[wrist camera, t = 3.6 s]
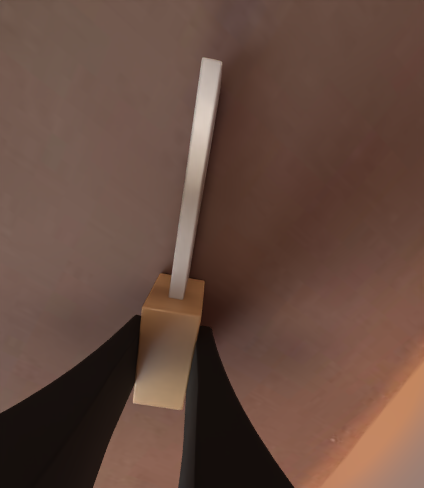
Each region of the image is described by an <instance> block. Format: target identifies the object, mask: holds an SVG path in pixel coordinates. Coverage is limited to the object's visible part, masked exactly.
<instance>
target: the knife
mask: <svg viewBox="0 0 424 488" xmlns="http://www.w3.org/2000/svg"><path fill="white" fill-rule="evenodd" d="M221 79H222V61H219V60H215V59H210V58H205V57H203V58H202V61H201V69H200V76H199V83H198V90H197V97H196V104H195V111H194V118H193V125H192V133H191V140H190V147H189V154H188V161H187V168H186V175H185V182H184V189H183V197H182V204H181V211H180V218H179V225H178V232H177V239H176V246H175V254H174V261H173V268H172V275H168V274H162V273H160V274H159V276H158V278H157V280H156V282H155V284H154V286H153V287H152V289H151V291H150V293H149V295H148V297H147V299H146V301H145V303H144V305H143V306H142V313H141V323H140V334H139V344H138V354H137V365H136V375H135V384H134V394H133V403H135V404H142V405H148V406H155V407H162V408H169V409H176V410H182V409H183V406H184V401H185V396H186V390H187V385H188V380H189V375H190V370H191V365H192V360H193V355H194V350H195V345H196V341H197V337H198V332H199V327H200V322H201V317H202V306H203V296H204V285H205V281H203V280H197V279H191V278H189V273H190V267H191V261H192V255H193V249H194V243H195V237H196V231H197V225H198V219H199V214H200V208H201V202H202V196H203V190H204V184H205V178H206V172H207V166H208V160H209V154H210V148H211V143H212V137H213V131H214V125H215V119H216V113H217V107H218V101H219V95H220V89H221Z"/></svg>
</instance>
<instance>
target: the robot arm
mask: <svg viewBox="0 0 424 488" xmlns="http://www.w3.org/2000/svg"><path fill="white" fill-rule="evenodd" d="M140 323H141V316H139V315H135V316H134V317H132V318H131V319H130V320H129V321H128V322H127V323H126V324H125V325H124V326H123V327H122V328H121V329H120V330H119V331H118V332H117V333H116V334H114V335H113V336H112V337H111V338H110V339H109V340H107V341H106V342H105V343H104V344H103V345H102V346H100V347H99V348H98V349H97V350H96V351H94V352H93V353H92V354H90V355H89V356H88V357H87V358H85V359H84V360H83V361H82V362H80V363H79V364H78V365H76V366H75V367H73V368H72V369H71V370H69V371H68V372H66V373H65V374H64V375H62V376H61V377H59V378H58V379H56V380H55V381H53V382H52V383H50V384H49V385H47V386H46V387H44V388H42V389H41V390H39V391H38V392H36V393H34V394H33V395H31V396H30V397H28V398H26V399H25V400H23V401H21V402H20V403H18V404H16V405H15V406H13V407H11V408H9V409H8V410H6V411H4V412H2V413H0V488H93V486H94V483H95V480H96V477H97V474H98V471H99V469H100V466H101V463H102V460H103V457H104V454H105V452H106V449H107V446H108V444H109V441H110V439H111V436H112V434H113V431H114V429H115V427H116V424H117V422H118V420H119V418H120V415H121V413H122V411H123V409H124V406H125V404H126V402H127V400H128V397H129V395H130V393H131V390H132V388H133V386H134V383H135V375H136V365H137V354H138V344H139V334H140ZM178 488H294V486H293V485H292V484H291V482H290V481H289V480H288V478H287V477H286V475H285V474H284V473H283V471H282V470H281V468H280V467H279V466H278V464H277V463H276V461H275V460H274V458H273V457H272V455H271V454H270V452H269V451H268V449H267V448H266V446H265V444H264V443H263V441H262V440H261V438H260V437H259V435H258V434H257V432H256V430H255V429H254V427H253V425H252V424H251V422H250V420H249V418H248V417H247V415H246V413H245V411H244V410H243V408H242V406H241V404H240V402H239V400H238V398H237V396H236V394H235V392H234V390H233V388H232V386H231V383H230V381H229V379H228V377H227V374H226V372H225V370H224V367H223V364H222V362H221V359H220V356H219V353H218V351H217V347H216V344H215V341H214V337H213V332H212V329H211V328H210V327H206V326H200V327H199V332H198V337H197V341H196V345H195V350H194V355H193V360H192V365H191V370H190V375H189V380H188V385H187V390H186V405H185V424H184V442H183V454H182V463H181V471H180V479H179V487H178Z"/></svg>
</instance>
